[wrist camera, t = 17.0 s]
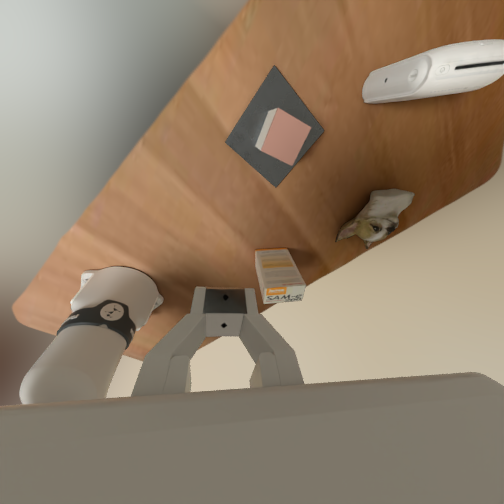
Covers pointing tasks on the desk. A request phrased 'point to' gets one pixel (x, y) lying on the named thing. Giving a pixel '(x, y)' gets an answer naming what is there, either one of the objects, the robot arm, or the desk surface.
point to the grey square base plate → (251, 122)
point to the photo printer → (437, 72)
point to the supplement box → (278, 276)
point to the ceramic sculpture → (377, 216)
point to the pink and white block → (282, 136)
